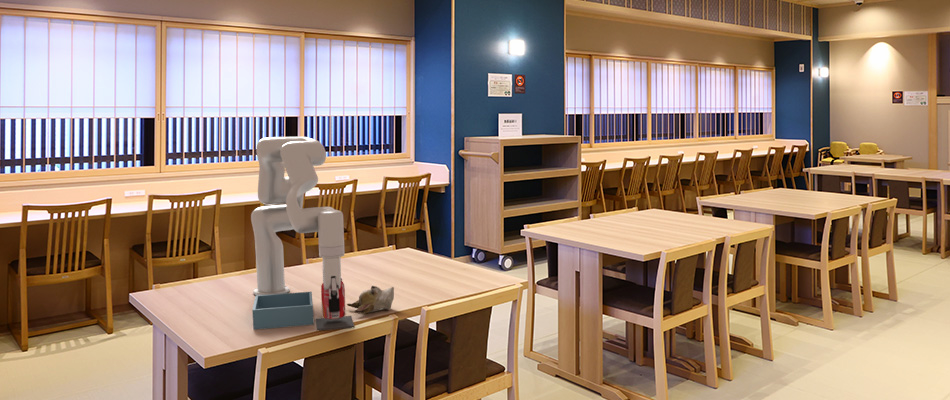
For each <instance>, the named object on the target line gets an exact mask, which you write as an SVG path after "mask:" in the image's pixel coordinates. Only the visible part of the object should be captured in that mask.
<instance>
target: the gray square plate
mask: <svg viewBox="0 0 950 400" xmlns="http://www.w3.org/2000/svg"><path fill="white" fill-rule="evenodd" d="M315 327H316V328H315V329H316V331H317V330H319V331H330V330H332V331H333V330H341V329H342V330H343V329H353V328H352V327H354V328H355V324H354V320H353V318H352V315H345V316H344V317H342V318H341V319H339V320H327V319H325V318H324V317H317V318H315Z"/></svg>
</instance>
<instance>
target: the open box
mask: <svg viewBox="0 0 950 400" xmlns="http://www.w3.org/2000/svg"><path fill="white" fill-rule="evenodd" d="M251 313H252V328H253V330H263V329H264V330H267V329H278V328H288V327H290V326H291V327H300V326H302V327H303V326H314V324H315V323H314V321H315V320H314V302H313V293H312V291H303V292H302V291H301V292H287V293H284V294H270V295H255V298H254V301H253V306H252V311H251Z"/></svg>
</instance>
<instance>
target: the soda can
mask: <svg viewBox="0 0 950 400" xmlns="http://www.w3.org/2000/svg"><path fill="white" fill-rule="evenodd" d="M338 287H339V285H338ZM336 288H337V286H336ZM330 289H332V286H331V287H330ZM338 289H339V288H338ZM320 290H321V291H320V292H321V299H320V300H321V313H322V318H325V319H327V320H339V319H341V318H342V317H344V316H346V292H345V291H346V289H345V283H344V282H343V279H342V277H341V286H340V289H339V290H338V293H339V300H340V311H339V312H329V300H328V299H329V289H326V291H325V290H324V285H323V282H322V283H321V286H320ZM331 292H332V291H331Z"/></svg>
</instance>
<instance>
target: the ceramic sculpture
mask: <svg viewBox="0 0 950 400" xmlns="http://www.w3.org/2000/svg"><path fill="white" fill-rule="evenodd" d="M394 295H395V287H394V286H391V287H389V288H386V289H384V290H382V289H381V288H380V287H378V286H375V285H372V286H371V288H370V289H367V290H366V289H365V290H363V291H362V292H361V293H360V295H359V297H358V300H356V301H355V302H352V303H346V305H347V307H351V308H354V309H355V310H354V313H356V314H364V315H365V314H368V313H374V312H377V311H379V310H382V309H385V310H388V311H390V310H391V308H392V304H393V301H394V299H395V298H394Z"/></svg>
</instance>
